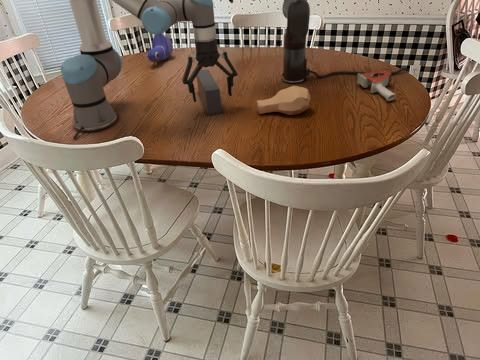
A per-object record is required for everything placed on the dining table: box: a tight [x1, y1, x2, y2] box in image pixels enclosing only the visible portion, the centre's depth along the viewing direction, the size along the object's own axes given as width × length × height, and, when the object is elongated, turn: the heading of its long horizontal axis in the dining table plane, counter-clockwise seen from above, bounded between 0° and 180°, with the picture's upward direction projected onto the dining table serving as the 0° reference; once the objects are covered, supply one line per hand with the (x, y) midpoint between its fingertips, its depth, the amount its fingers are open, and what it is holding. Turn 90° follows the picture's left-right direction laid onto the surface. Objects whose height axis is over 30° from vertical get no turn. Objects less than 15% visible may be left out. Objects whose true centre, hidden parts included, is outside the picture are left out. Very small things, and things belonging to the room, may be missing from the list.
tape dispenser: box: [356, 69, 397, 102], centre depth 142 cm, size 18×5×20 cm
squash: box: [255, 85, 312, 116], centre depth 130 cm, size 11×20×9 cm, turn 92°
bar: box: [196, 68, 223, 116], centre depth 140 cm, size 23×5×9 cm, turn 14°
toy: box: [146, 32, 174, 67], centre depth 185 cm, size 10×17×25 cm
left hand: (212, 97), depth 134 cm, fingers open, 13 cm apart
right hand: (242, 1), depth 133 cm, fingers open, 8 cm apart
